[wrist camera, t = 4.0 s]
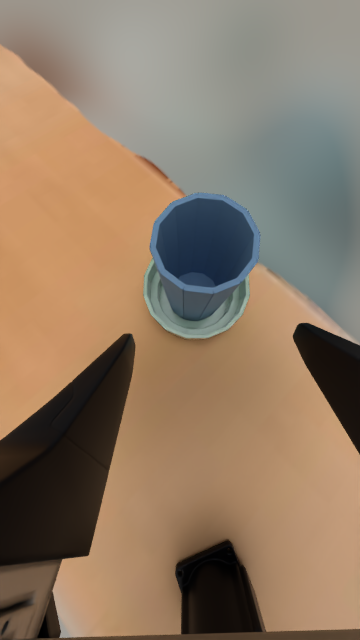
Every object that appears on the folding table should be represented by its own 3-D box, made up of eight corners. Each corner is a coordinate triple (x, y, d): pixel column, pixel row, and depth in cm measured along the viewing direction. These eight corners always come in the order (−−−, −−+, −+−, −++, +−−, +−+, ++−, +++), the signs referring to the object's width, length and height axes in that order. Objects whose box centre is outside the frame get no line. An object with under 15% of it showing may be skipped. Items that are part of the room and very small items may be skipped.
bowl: (169, 353, 21) (166, 355, 17) (140, 275, 23) (129, 258, 18) (250, 320, 21) (267, 313, 17) (215, 246, 23) (222, 222, 19)
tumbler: (179, 329, 21) (174, 310, 9) (161, 282, 22) (135, 215, 10) (228, 309, 21) (279, 267, 10) (207, 264, 22) (231, 178, 11)
